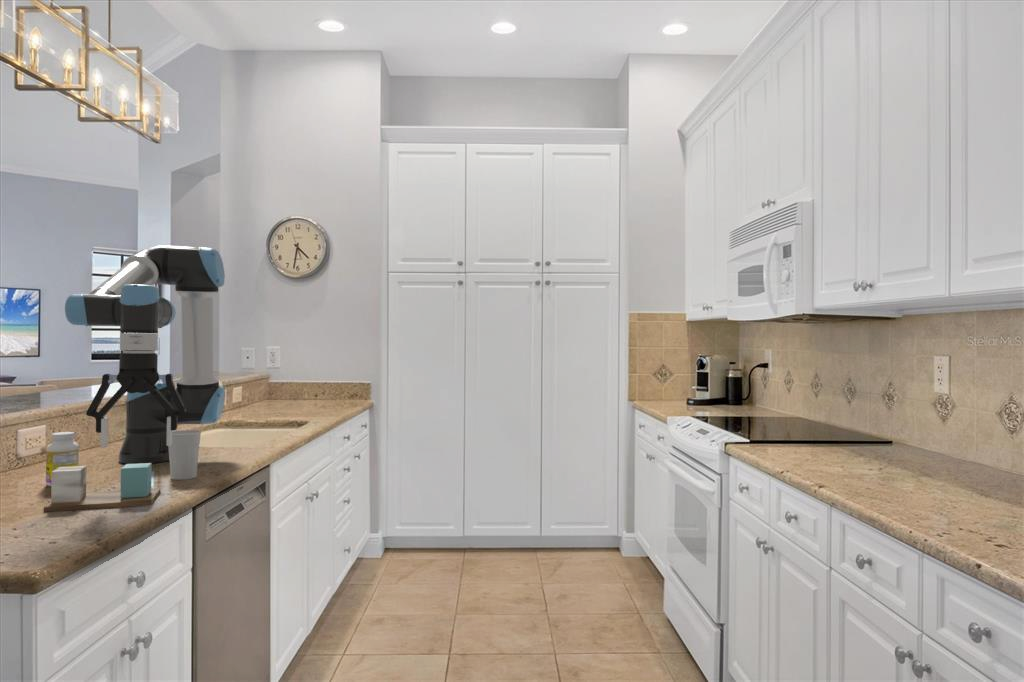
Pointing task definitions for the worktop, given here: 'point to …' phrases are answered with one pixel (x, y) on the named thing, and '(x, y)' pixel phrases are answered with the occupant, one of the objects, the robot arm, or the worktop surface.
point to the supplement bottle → (61, 453)
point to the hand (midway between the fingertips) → (137, 446)
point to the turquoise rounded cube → (136, 480)
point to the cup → (184, 454)
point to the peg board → (73, 496)
